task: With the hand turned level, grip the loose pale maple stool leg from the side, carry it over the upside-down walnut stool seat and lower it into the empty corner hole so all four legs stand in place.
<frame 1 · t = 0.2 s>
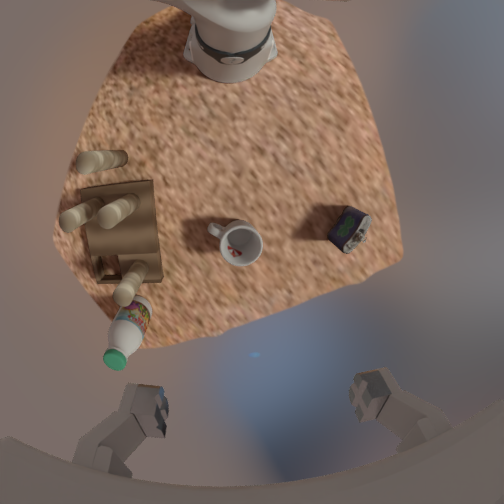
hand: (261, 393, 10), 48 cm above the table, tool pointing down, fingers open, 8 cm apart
stool: (123, 232, 55), on the table
milk bottle: (138, 307, 62), on the table
cup: (232, 230, 57), on the table
flask: (340, 223, 59), on the table
loose leg: (120, 158, 49), on the table
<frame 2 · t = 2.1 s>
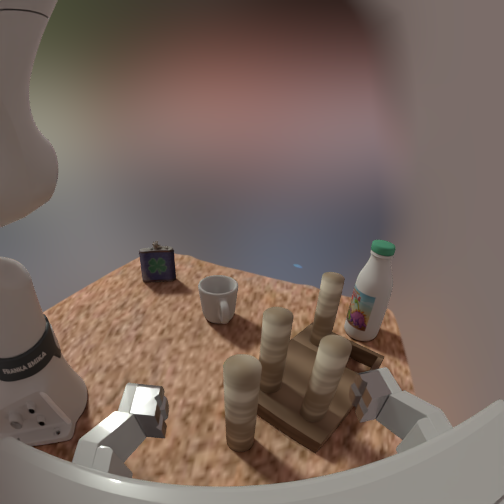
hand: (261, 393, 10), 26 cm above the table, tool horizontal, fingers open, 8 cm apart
stool: (313, 383, 40), on the table
milk bottle: (360, 331, 53), on the table
cup: (220, 321, 56), on the table
flask: (159, 280, 70), on the table
loose leg: (240, 441, 30), on the table
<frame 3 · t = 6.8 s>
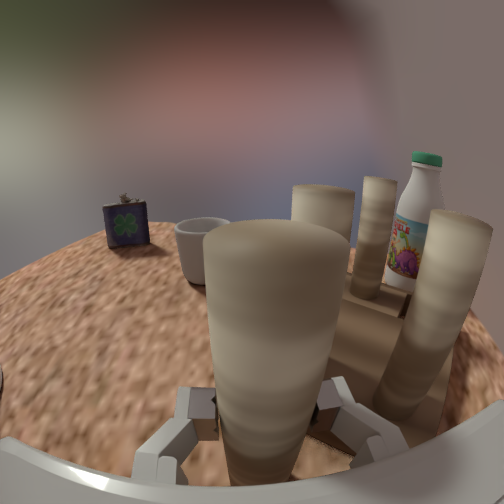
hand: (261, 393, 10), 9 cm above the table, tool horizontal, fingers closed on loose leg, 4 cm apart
stool: (369, 357, 23), on the table
milk bottle: (405, 286, 37), on the table
cup: (208, 282, 39), on the table
flask: (129, 246, 52), on the table
loose leg: (258, 480, 13), on the table, touching gripper
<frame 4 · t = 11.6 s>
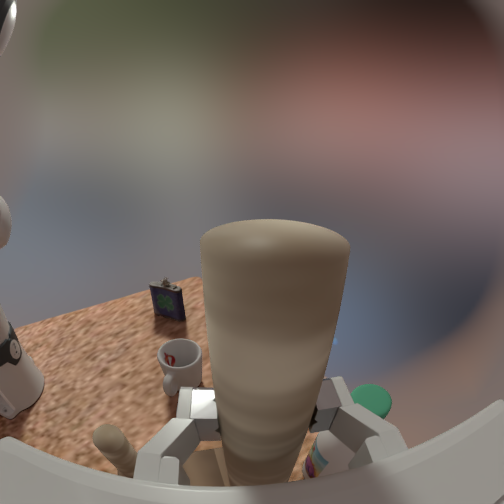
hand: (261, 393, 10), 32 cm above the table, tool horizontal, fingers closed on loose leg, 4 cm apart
stool: (200, 502, 24), on the table
milk bottle: (326, 470, 29), on the table
cup: (182, 387, 46), on the table
flask: (170, 316, 66), on the table
loose leg: (257, 481, 12), point 23 cm above the table, touching gripper
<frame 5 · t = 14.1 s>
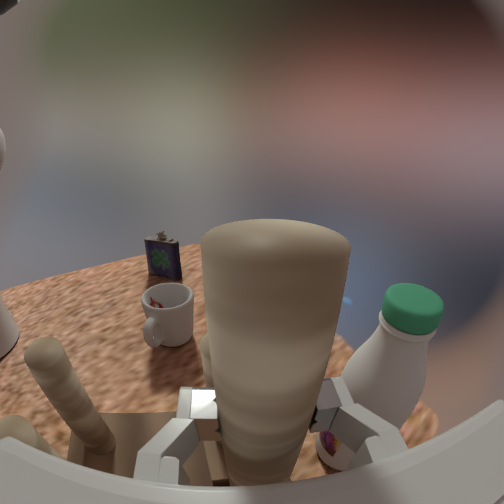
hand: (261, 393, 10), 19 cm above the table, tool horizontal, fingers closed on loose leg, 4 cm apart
stool: (173, 484, 18), on the table
milk bottle: (347, 446, 23), on the table
cup: (170, 342, 40), on the table
flask: (165, 276, 61), on the table
loose leg: (258, 481, 12), point 10 cm above the table, touching gripper
when the fingers open (10 cm above the table, at t = 16.1 s): loose leg drops 1 cm, resting in stool.
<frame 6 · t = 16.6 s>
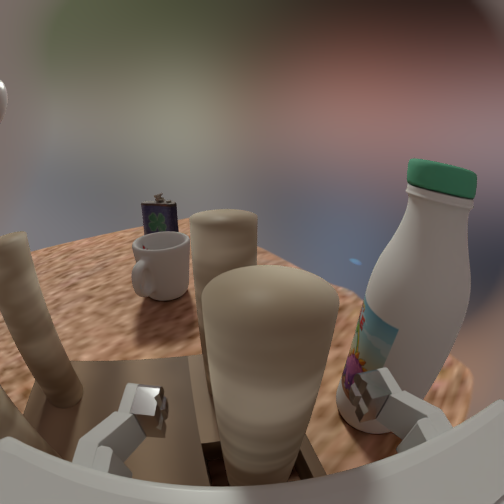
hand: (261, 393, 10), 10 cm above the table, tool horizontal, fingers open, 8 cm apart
stool: (152, 453, 15), on the table
milk bottle: (374, 404, 20), on the table
cup: (162, 298, 37), on the table
flask: (162, 242, 58), on the table
loose leg: (256, 487, 13), resting in stool
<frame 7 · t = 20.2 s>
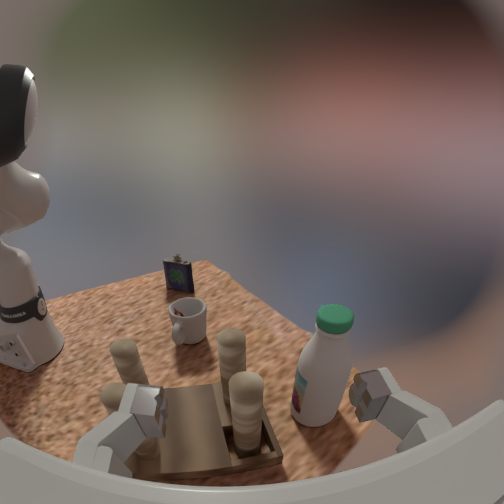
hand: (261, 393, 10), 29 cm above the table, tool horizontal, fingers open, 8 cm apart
stool: (196, 434, 34), on the table
milk bottle: (313, 410, 38), on the table
cup: (189, 341, 56), on the table
flask: (180, 289, 77), on the table
loose leg: (247, 448, 32), resting in stool
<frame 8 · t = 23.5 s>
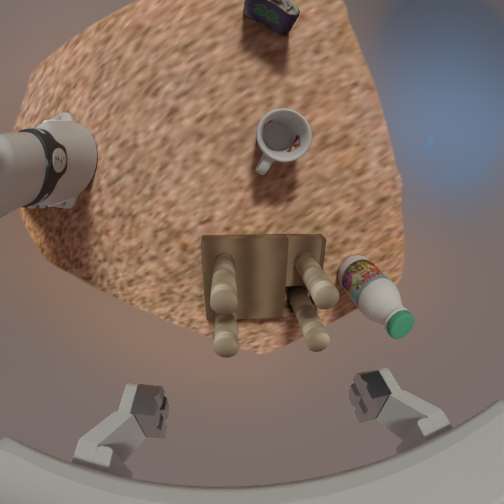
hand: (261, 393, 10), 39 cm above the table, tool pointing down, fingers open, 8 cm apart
stool: (262, 274, 52), on the table
milk bottle: (353, 270, 54), on the table
cup: (271, 144, 43), on the table
flask: (266, 21, 34), on the table
loose leg: (295, 292, 54), resting in stool
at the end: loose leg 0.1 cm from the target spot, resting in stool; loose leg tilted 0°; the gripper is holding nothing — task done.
